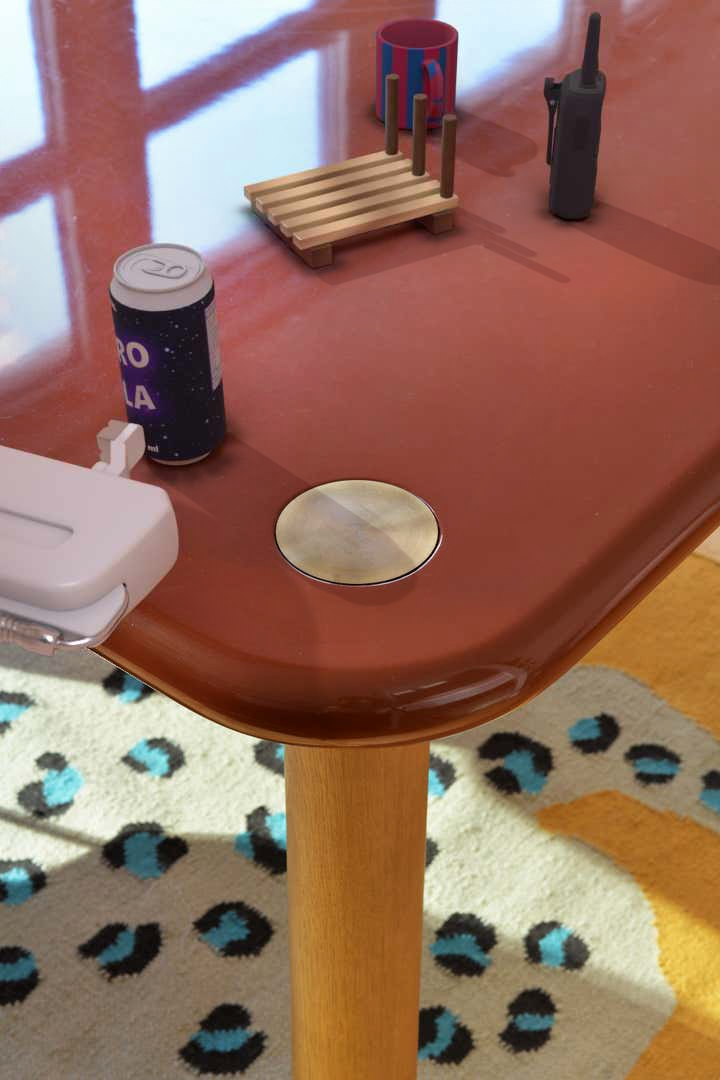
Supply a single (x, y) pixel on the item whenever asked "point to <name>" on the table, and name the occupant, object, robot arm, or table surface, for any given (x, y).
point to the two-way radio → (576, 131)
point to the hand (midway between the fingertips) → (44, 411)
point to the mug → (418, 67)
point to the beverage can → (169, 350)
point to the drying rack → (362, 189)
